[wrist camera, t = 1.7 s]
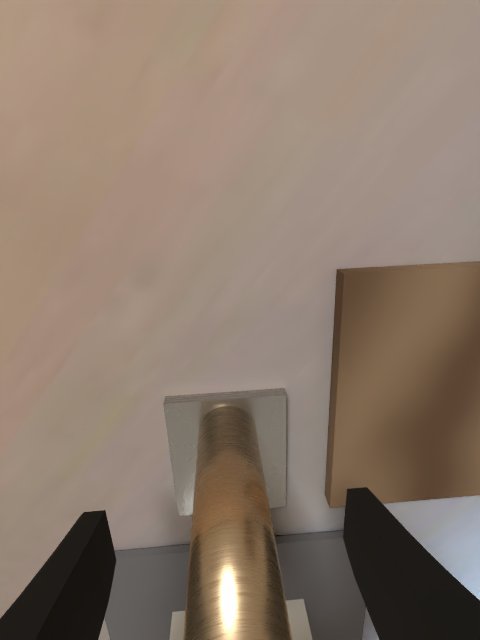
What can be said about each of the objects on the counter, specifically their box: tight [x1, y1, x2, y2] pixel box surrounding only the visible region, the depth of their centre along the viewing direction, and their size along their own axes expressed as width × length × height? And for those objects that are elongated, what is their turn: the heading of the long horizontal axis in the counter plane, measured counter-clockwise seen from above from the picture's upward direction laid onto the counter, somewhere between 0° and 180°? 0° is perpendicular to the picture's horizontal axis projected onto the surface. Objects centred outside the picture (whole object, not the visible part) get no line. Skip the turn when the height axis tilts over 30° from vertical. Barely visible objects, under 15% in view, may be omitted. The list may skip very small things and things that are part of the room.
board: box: [325, 262, 480, 508], centre depth 15 cm, size 11×11×1 cm
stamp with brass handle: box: [164, 388, 292, 640], centre depth 12 cm, size 6×5×9 cm
